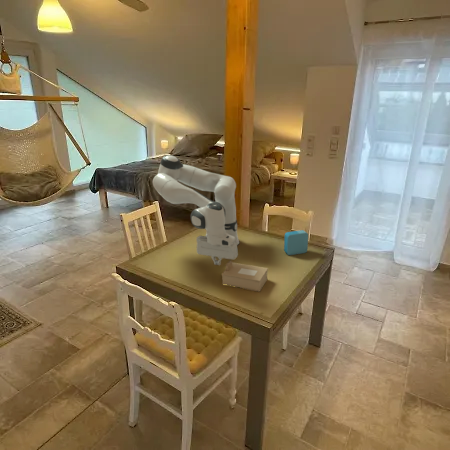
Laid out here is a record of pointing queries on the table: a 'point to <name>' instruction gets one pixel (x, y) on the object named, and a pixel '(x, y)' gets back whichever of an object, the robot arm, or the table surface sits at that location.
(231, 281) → the box
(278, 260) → the table surface
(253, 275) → the lid
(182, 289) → the table surface
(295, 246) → the data package
